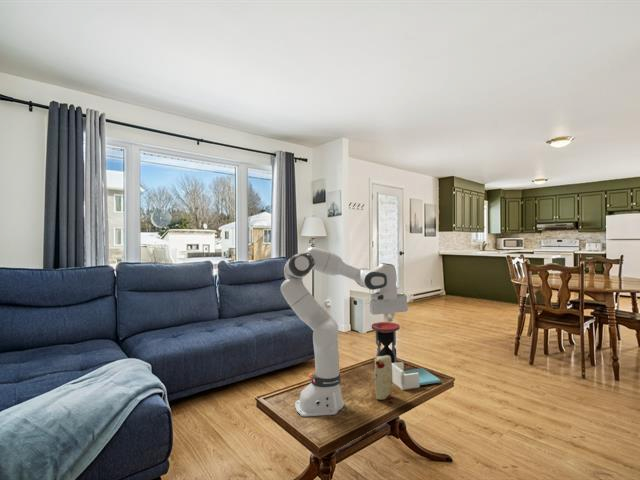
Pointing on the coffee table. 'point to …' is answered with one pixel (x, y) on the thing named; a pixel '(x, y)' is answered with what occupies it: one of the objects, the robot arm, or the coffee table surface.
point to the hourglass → (386, 339)
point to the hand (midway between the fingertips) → (389, 321)
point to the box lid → (424, 376)
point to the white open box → (404, 377)
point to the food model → (383, 377)
